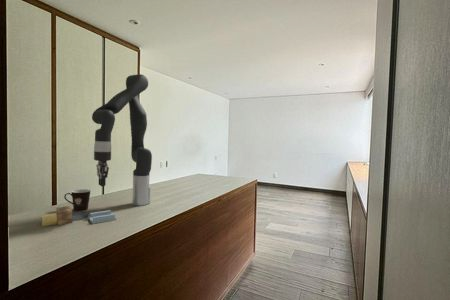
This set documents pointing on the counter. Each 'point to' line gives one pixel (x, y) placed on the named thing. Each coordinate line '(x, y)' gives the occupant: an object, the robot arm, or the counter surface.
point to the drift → (79, 216)
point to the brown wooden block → (64, 215)
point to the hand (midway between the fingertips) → (101, 185)
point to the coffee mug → (80, 199)
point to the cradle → (101, 217)
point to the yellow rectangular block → (50, 219)
